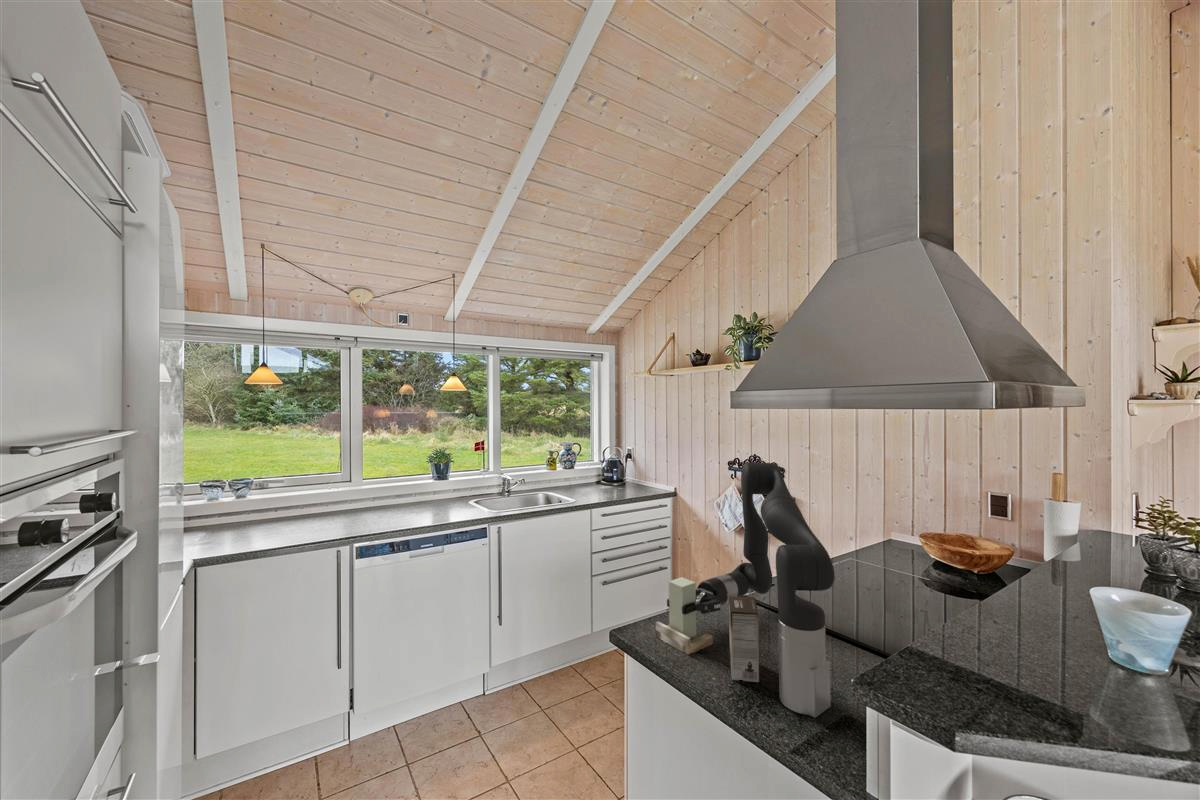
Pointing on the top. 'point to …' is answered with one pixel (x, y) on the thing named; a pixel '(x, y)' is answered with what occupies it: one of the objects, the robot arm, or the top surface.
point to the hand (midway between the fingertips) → (675, 606)
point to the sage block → (681, 595)
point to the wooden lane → (682, 639)
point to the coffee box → (744, 638)
